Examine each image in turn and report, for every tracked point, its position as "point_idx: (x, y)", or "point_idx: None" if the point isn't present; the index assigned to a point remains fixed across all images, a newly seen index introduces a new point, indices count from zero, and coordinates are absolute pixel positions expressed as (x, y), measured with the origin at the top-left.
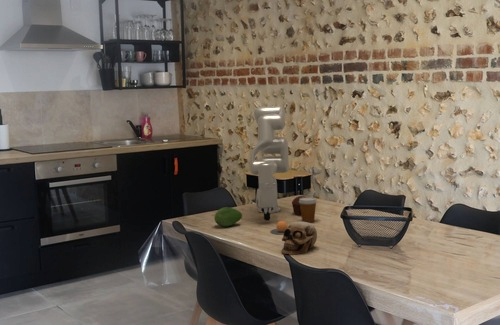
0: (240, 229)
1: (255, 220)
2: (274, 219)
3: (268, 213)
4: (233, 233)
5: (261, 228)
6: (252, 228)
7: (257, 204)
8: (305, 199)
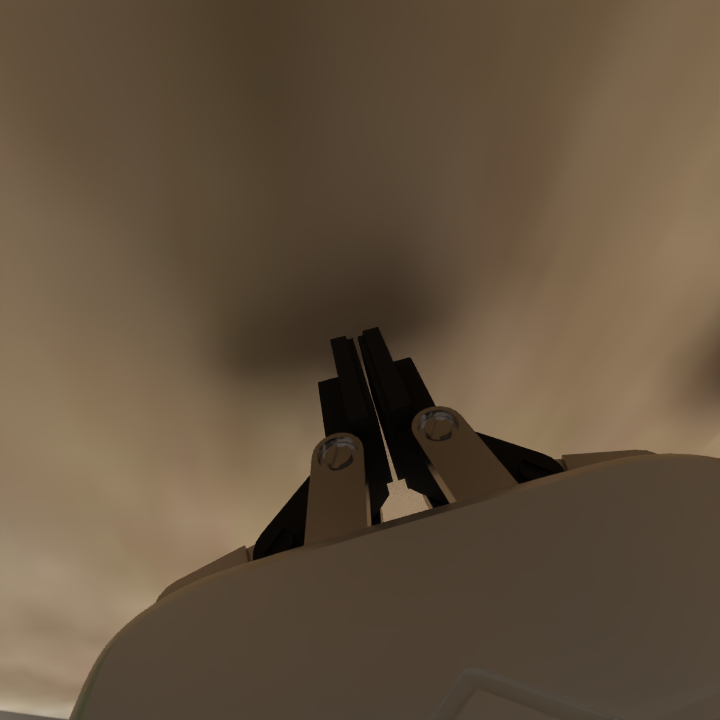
0: (30, 551)
1: (136, 66)
2: (533, 102)
3: (408, 485)
4: (8, 634)
5: (266, 526)
6: (169, 525)
7: (111, 700)
8: None
